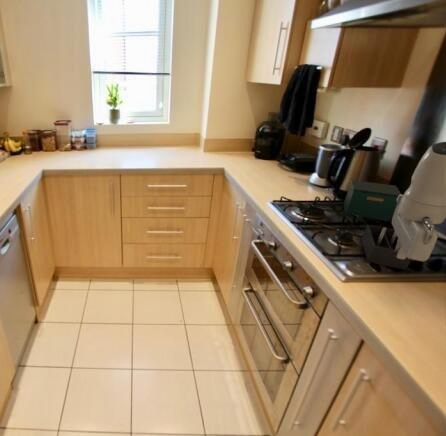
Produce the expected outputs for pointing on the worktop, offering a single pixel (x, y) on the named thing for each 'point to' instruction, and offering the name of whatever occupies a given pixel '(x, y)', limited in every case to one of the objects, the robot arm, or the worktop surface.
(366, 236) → the cutlery holder
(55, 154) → the worktop surface
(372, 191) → the bread bin
